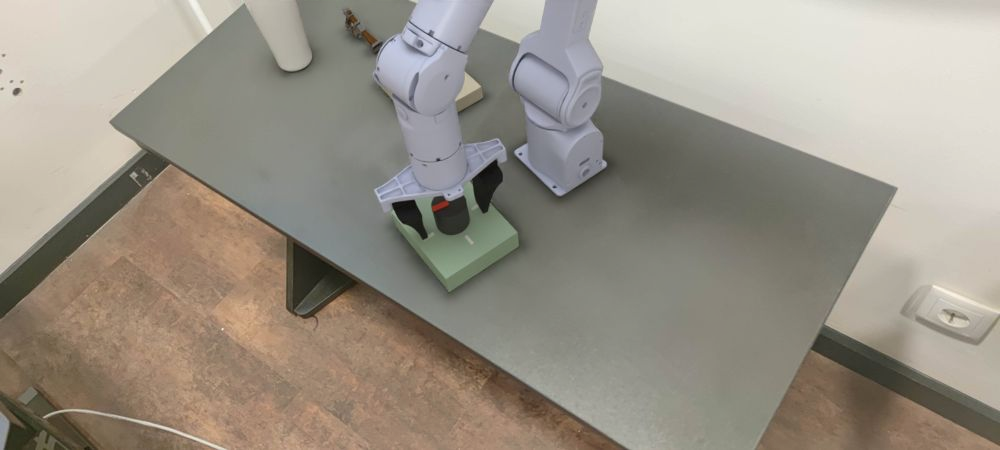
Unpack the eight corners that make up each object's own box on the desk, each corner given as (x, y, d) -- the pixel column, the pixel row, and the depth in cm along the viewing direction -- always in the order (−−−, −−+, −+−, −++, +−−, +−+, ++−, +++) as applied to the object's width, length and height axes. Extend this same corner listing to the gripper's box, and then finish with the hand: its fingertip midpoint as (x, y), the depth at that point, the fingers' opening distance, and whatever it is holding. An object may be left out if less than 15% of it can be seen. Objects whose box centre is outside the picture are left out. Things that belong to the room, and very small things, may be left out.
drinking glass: (273, 50, 107) (236, -36, 95) (317, 42, 107) (285, -45, 95) (273, 80, 103) (233, -6, 91) (319, 71, 103) (285, -16, 91)
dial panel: (519, 246, 82) (517, 231, 80) (449, 292, 80) (445, 278, 77) (462, 185, 89) (459, 169, 86) (395, 226, 86) (390, 210, 83)
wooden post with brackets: (347, 19, 108) (348, 1, 104) (381, 56, 108) (382, 39, 104) (338, 24, 108) (338, 7, 104) (371, 62, 107) (373, 46, 103)
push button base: (483, 98, 97) (480, 76, 94) (423, 132, 94) (417, 111, 91) (436, 54, 103) (432, 32, 100) (378, 85, 101) (372, 64, 97)
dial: (461, 202, 83) (457, 182, 80) (475, 226, 81) (471, 206, 78) (430, 216, 82) (425, 196, 79) (443, 240, 80) (438, 221, 77)
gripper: (380, 196, 67) (407, 271, 78) (516, 139, 70) (523, 219, 81) (356, 148, 71) (385, 225, 82) (485, 96, 73) (496, 177, 84)
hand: (452, 219), depth 81 cm, fingers open, 7 cm apart
